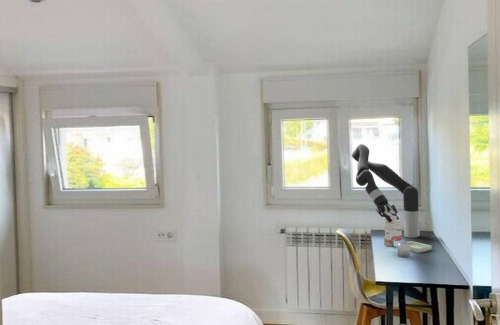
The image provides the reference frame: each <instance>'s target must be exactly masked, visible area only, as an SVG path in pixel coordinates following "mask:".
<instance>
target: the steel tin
mask: <svg viewBox="0 0 500 325" xmlns="http://www.w3.org/2000/svg"><path fill="white" fill-rule="evenodd" d="M405 242H406V241H405ZM405 242H397V244H398V248H397V256H398V257H399V258H410V257H411V251H410V243H405Z"/></svg>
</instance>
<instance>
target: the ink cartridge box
mask: <svg viewBox="0 0 500 325" xmlns="http://www.w3.org/2000/svg"><path fill="white" fill-rule="evenodd" d="M388 215H389V216H390V218H391V219H392V221H391V222H390V223H389V222H388V220H387V219H386V218H385V217H384V237H385V239H388V240H393V241H395V242H399V241H402V240H403V238H402V235H403V234H402V233H403V232H402V220H401V219H399V220H397V216H398V215H397V216H393V215H391V214H388Z"/></svg>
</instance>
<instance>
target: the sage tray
mask: <svg viewBox="0 0 500 325" xmlns="http://www.w3.org/2000/svg"><path fill="white" fill-rule="evenodd" d="M405 243H410V252H413V253H416V254H420V253H424V252H428V251H429V252H430V251H432V249H433V246H432V245H431V244H426V243H421V242H417V241H413V240H410V241H405ZM396 247H397V249H398V243H397V245H396Z"/></svg>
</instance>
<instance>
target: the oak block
mask: <svg viewBox="0 0 500 325" xmlns="http://www.w3.org/2000/svg"><path fill="white" fill-rule="evenodd" d="M394 244H395V243H394V241H393V240H388V239H385V236H384V237H383V246H385V247H394V246H395V245H394Z"/></svg>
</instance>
